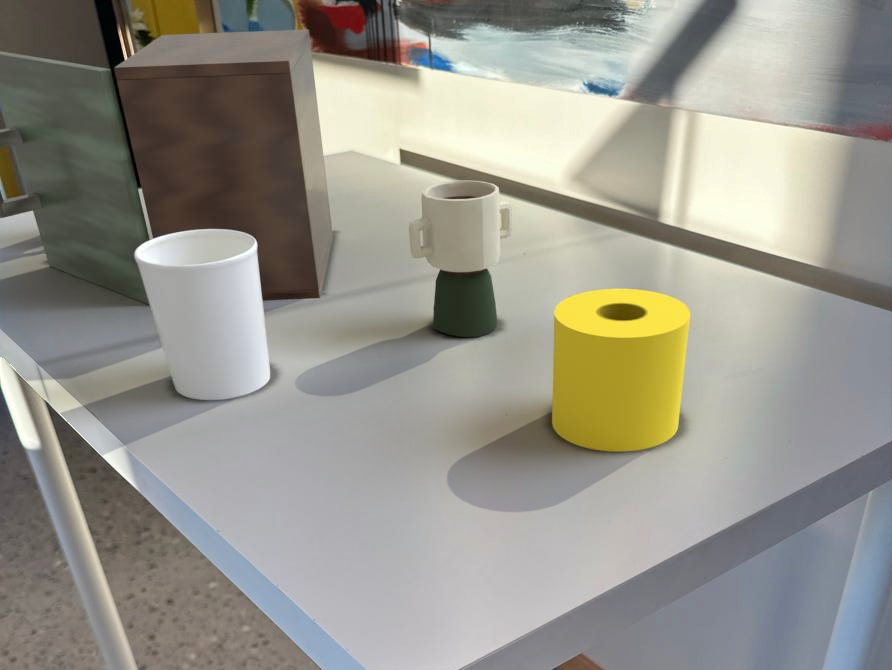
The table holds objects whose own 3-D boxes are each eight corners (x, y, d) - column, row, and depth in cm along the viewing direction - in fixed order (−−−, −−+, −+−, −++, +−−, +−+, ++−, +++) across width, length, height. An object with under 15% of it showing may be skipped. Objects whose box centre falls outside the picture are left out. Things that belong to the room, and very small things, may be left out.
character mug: (491, 309, 99) (488, 172, 91) (532, 330, 94) (533, 187, 86) (399, 333, 95) (387, 191, 86) (437, 356, 90) (428, 208, 82)
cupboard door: (111, 321, 99) (46, 79, 85) (7, 278, 111) (-65, 58, 97) (165, 304, 102) (110, 69, 89) (58, 263, 114) (-4, 50, 101)
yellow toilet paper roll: (526, 430, 78) (526, 314, 72) (606, 390, 83) (612, 279, 77) (623, 471, 72) (632, 349, 66) (702, 426, 78) (717, 309, 72)
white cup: (161, 374, 88) (128, 237, 81) (268, 356, 91) (245, 222, 84) (174, 418, 81) (139, 272, 74) (289, 397, 84) (267, 255, 76)
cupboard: (168, 306, 102) (113, 67, 88) (203, 243, 119) (161, 34, 106) (320, 299, 103) (289, 60, 89) (333, 237, 120) (308, 29, 106)
